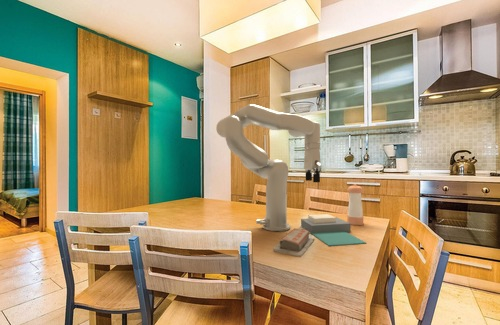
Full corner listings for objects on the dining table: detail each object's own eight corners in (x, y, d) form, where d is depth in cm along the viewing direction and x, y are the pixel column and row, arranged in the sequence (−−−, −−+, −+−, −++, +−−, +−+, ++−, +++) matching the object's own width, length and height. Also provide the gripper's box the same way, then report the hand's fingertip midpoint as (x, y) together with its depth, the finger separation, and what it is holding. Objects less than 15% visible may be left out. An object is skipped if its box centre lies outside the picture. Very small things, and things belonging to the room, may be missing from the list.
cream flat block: (314, 223, 107) (314, 218, 107) (308, 219, 114) (308, 215, 114) (335, 222, 109) (335, 217, 109) (328, 218, 116) (328, 214, 116)
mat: (328, 246, 88) (328, 245, 88) (311, 233, 103) (311, 232, 103) (366, 243, 91) (366, 242, 91) (344, 231, 106) (344, 230, 106)
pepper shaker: (359, 221, 123) (358, 183, 123) (366, 225, 116) (366, 185, 116) (344, 221, 123) (344, 183, 123) (351, 225, 116) (351, 185, 116)
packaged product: (289, 226, 99) (314, 229, 95) (289, 238, 99) (314, 241, 95) (272, 239, 83) (301, 243, 79) (272, 253, 84) (301, 258, 79)
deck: (311, 233, 103) (311, 225, 103) (301, 226, 115) (301, 218, 115) (350, 231, 106) (350, 223, 106) (336, 224, 118) (336, 217, 118)
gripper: (299, 148, 129) (299, 180, 130) (311, 146, 112) (312, 183, 112) (312, 147, 130) (312, 179, 131) (327, 146, 113) (327, 182, 113)
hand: (312, 181), depth 121 cm, fingers open, 9 cm apart
